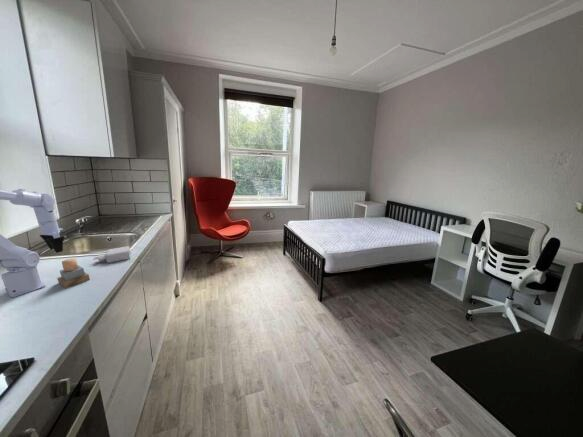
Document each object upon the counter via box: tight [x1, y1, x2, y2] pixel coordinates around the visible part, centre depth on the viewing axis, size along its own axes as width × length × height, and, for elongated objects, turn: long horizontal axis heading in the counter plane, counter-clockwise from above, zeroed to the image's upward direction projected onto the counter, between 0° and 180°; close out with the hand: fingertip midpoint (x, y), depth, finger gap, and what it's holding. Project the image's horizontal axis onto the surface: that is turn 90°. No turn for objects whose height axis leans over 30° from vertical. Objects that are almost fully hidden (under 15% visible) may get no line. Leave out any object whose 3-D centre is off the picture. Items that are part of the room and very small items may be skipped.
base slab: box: [56, 271, 91, 289], centre depth 101 cm, size 8×8×3 cm
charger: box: [92, 245, 132, 263], centre depth 123 cm, size 5×9×15 cm
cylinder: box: [61, 258, 79, 272], centre depth 100 cm, size 4×4×4 cm
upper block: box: [59, 265, 86, 281], centre depth 101 cm, size 6×6×3 cm
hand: (56, 250), depth 108 cm, fingers open, 7 cm apart
